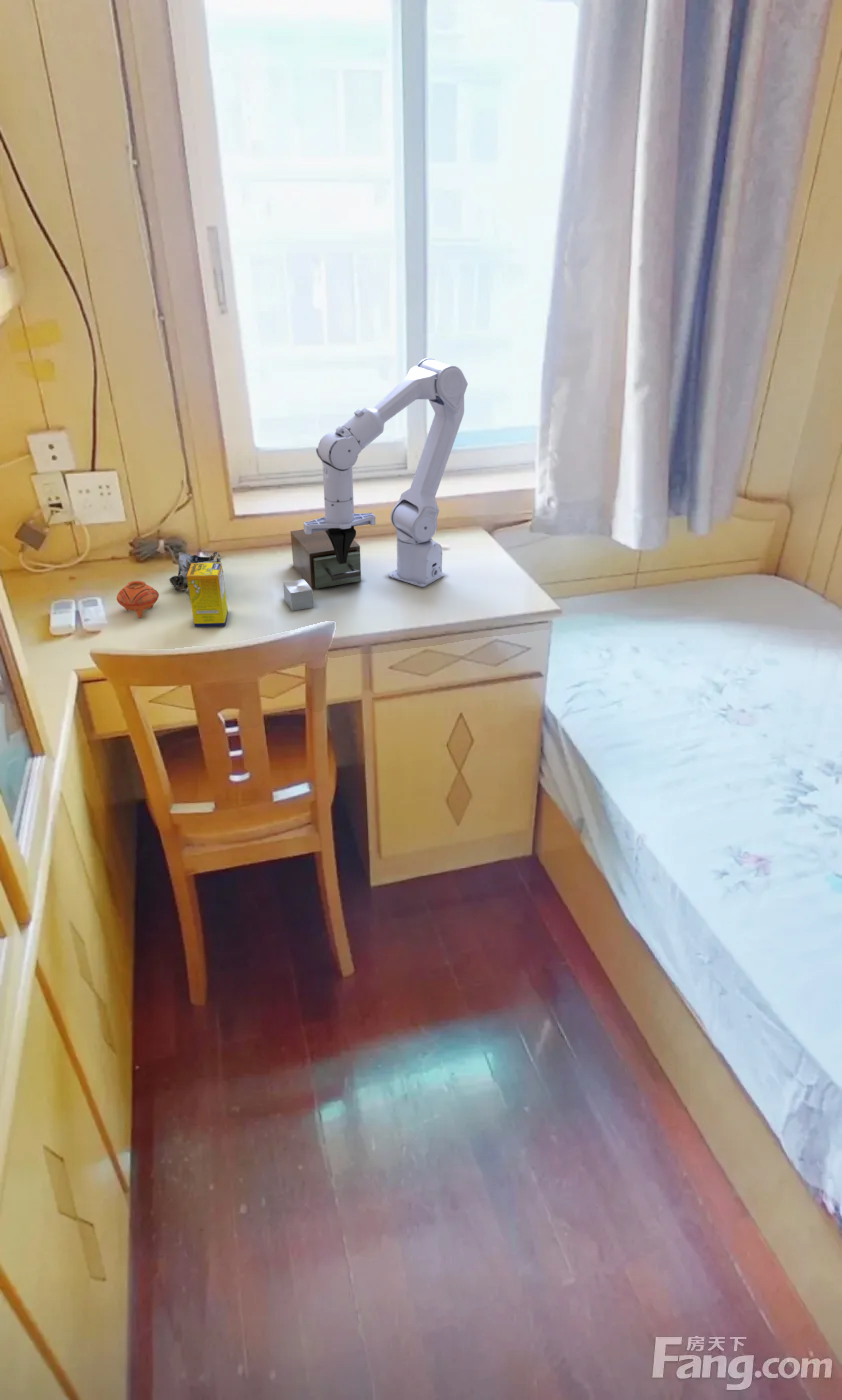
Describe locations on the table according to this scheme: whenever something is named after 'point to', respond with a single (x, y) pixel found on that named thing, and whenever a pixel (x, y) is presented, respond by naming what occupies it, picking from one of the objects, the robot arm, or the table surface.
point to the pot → (137, 597)
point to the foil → (184, 565)
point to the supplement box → (207, 594)
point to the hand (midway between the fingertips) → (341, 561)
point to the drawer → (336, 569)
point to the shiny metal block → (298, 594)
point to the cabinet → (312, 552)
